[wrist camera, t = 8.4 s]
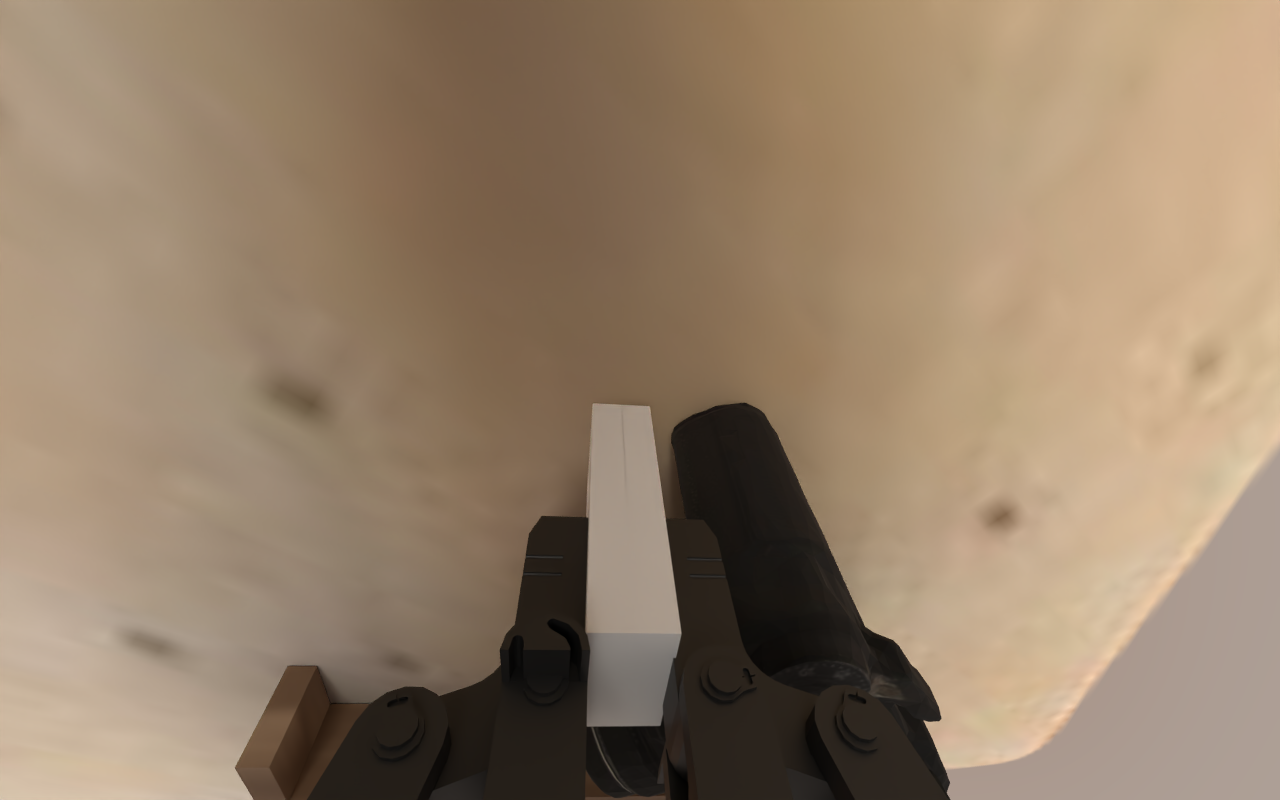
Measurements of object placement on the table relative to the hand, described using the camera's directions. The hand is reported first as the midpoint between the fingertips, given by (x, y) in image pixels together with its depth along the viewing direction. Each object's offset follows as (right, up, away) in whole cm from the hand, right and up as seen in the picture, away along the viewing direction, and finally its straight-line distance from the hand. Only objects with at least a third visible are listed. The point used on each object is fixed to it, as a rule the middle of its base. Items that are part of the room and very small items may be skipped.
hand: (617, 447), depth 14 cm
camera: (+3, -5, +7) cm, 9 cm away
